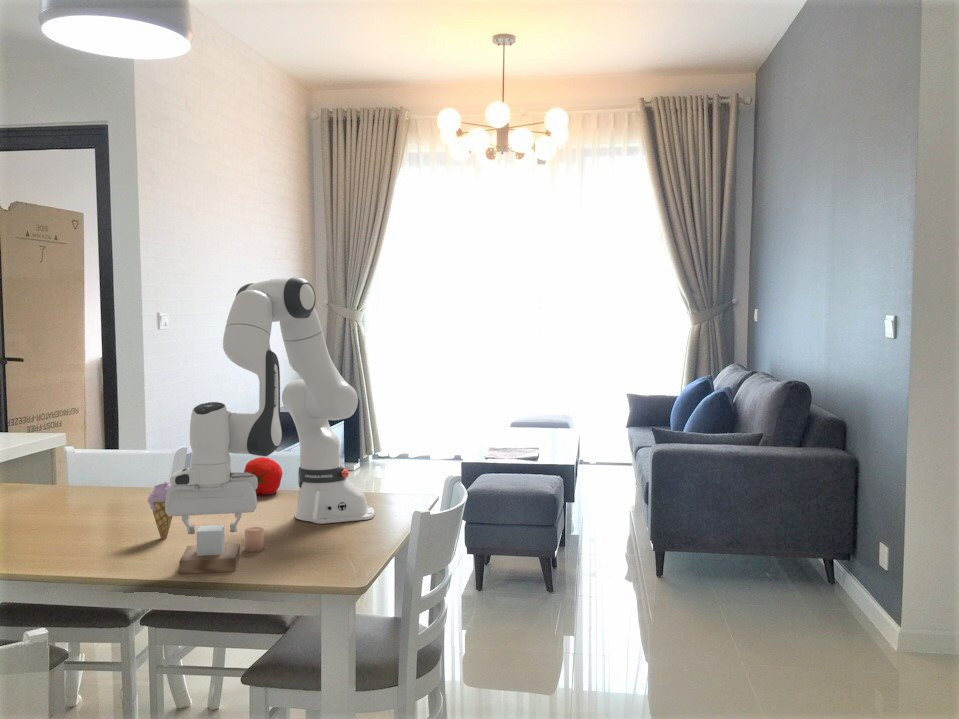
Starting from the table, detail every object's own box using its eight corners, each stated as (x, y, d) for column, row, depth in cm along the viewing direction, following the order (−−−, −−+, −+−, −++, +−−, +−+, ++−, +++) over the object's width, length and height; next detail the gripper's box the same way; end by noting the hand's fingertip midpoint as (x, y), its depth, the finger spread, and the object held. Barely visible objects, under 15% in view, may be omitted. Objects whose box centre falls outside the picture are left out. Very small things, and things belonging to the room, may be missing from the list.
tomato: (263, 498, 280) (250, 509, 267) (241, 466, 279) (228, 475, 266) (295, 477, 279) (284, 487, 265) (273, 445, 278) (261, 453, 265)
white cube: (224, 547, 202) (224, 524, 201) (222, 554, 196) (221, 530, 196) (200, 548, 201) (199, 525, 200) (196, 555, 195) (196, 532, 195)
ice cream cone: (159, 543, 216) (158, 484, 215) (143, 539, 219) (142, 481, 218) (181, 537, 222) (180, 479, 221) (165, 533, 225) (164, 477, 224)
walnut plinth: (240, 555, 206) (239, 543, 206) (235, 571, 194) (235, 558, 194) (187, 558, 204) (187, 545, 203) (179, 573, 192) (179, 560, 192)
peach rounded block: (264, 546, 214) (264, 526, 214) (263, 551, 209) (263, 531, 209) (245, 547, 213) (245, 527, 213) (244, 552, 209) (243, 532, 208)
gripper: (258, 469, 203) (259, 526, 204) (167, 472, 199) (169, 531, 200) (256, 474, 196) (258, 533, 197) (162, 478, 192) (164, 538, 194)
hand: (212, 532), depth 199 cm, fingers open, 8 cm apart
